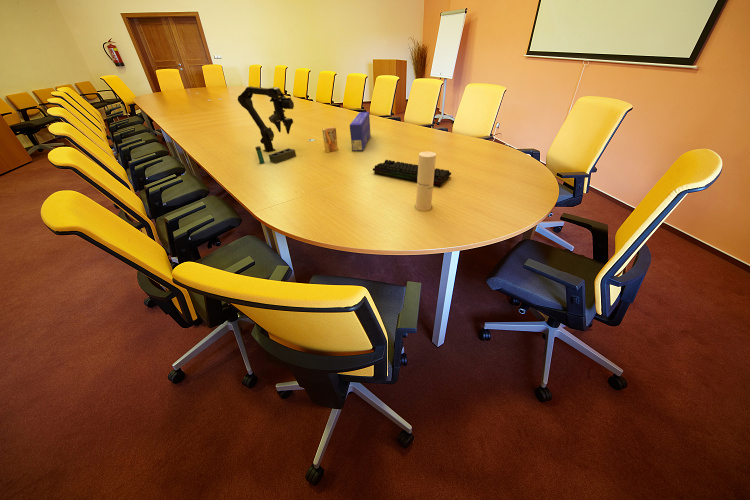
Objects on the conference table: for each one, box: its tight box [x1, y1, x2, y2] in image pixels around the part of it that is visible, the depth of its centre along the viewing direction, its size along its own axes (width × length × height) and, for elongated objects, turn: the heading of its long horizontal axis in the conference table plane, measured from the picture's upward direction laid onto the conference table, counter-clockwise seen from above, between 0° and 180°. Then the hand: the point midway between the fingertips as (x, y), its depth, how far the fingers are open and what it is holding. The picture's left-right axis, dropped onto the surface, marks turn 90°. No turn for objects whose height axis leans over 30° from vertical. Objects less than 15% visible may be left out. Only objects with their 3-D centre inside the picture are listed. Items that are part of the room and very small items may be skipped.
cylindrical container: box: [415, 151, 437, 212], centre depth 129 cm, size 7×7×25 cm
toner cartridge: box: [349, 111, 372, 152], centre depth 215 cm, size 39×8×18 cm, turn 172°
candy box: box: [322, 126, 339, 153], centre depth 205 cm, size 9×4×15 cm, turn 129°
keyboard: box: [372, 159, 452, 188], centre depth 165 cm, size 42×16×5 cm, turn 59°
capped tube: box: [254, 145, 265, 165], centre depth 190 cm, size 3×3×10 cm
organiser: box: [268, 147, 297, 164], centre depth 197 cm, size 7×17×4 cm, turn 142°
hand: (284, 133), depth 203 cm, fingers open, 9 cm apart
